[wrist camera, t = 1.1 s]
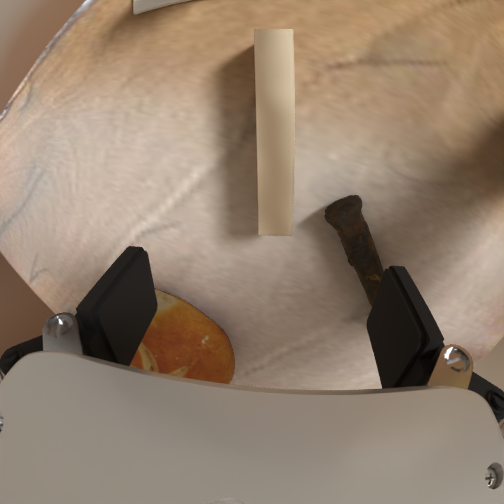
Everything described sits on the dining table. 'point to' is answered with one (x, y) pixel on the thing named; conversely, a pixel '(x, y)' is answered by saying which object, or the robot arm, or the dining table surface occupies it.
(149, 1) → the mat
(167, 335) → the bread
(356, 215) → the rusty brown spike
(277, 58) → the beige long bar
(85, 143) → the dining table surface
